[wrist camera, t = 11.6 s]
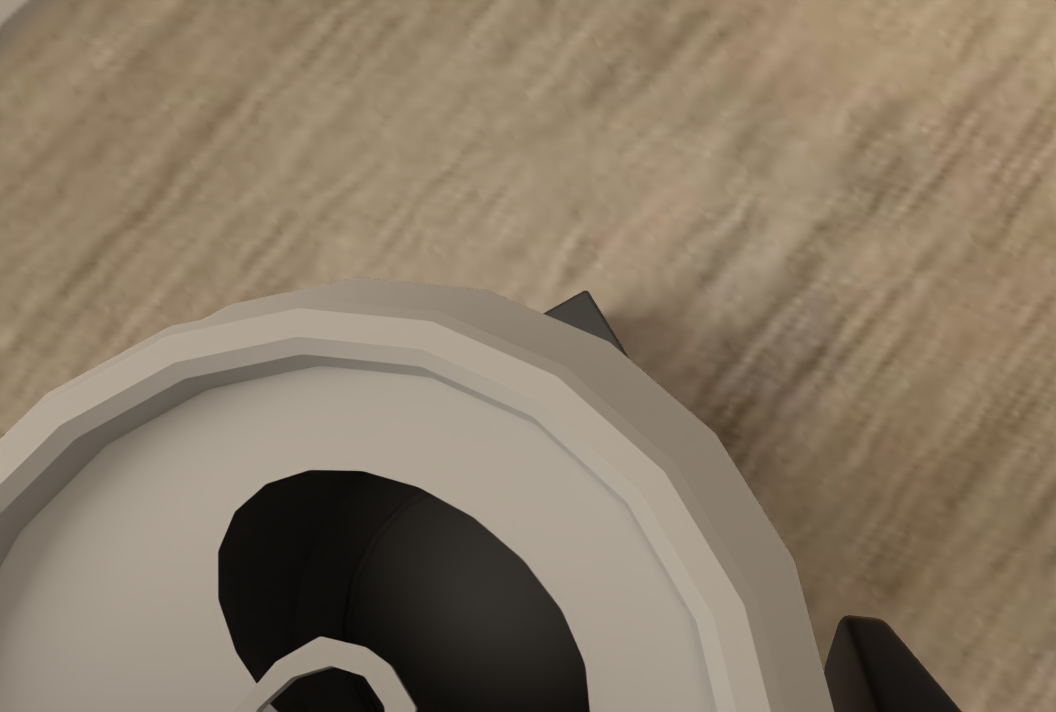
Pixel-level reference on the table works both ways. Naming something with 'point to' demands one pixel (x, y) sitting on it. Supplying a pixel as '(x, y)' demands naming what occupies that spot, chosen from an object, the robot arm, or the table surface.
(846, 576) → the table surface
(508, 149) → the table surface
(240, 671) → the can
